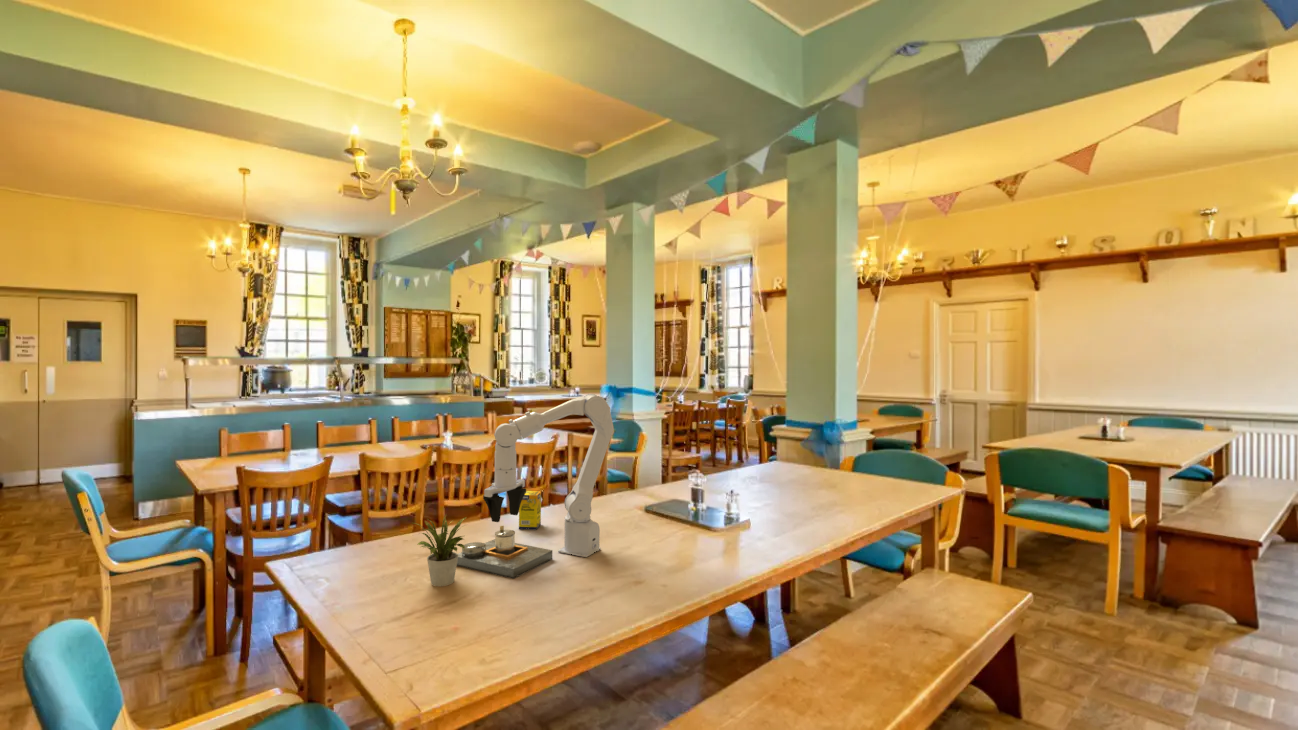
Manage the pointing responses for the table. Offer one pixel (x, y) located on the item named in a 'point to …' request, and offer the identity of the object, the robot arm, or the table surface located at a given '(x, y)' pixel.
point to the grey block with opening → (502, 559)
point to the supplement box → (530, 510)
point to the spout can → (504, 541)
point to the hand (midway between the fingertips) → (505, 518)
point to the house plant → (442, 553)
